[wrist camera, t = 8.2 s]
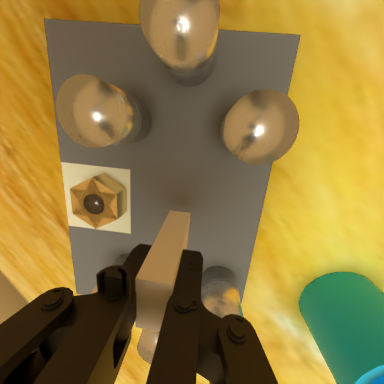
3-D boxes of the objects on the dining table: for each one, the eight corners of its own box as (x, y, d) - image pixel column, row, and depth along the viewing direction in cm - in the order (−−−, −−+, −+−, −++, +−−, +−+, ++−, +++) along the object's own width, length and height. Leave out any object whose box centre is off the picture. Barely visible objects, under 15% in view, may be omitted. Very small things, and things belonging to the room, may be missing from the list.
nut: (82, 170, 19) (67, 174, 17) (125, 175, 18) (115, 180, 16) (86, 217, 20) (73, 226, 18) (126, 222, 20) (117, 231, 18)
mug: (299, 273, 21) (352, 358, 13) (382, 269, 20) (496, 358, 12) (297, 351, 24) (340, 456, 16) (368, 351, 23) (450, 463, 15)
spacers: (104, 22, 15) (37, -48, 9) (286, 34, 14) (340, -36, 8) (115, 299, 23) (84, 353, 18) (229, 317, 22) (236, 379, 17)
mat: (50, 22, 16) (43, 18, 15) (296, 38, 14) (300, 34, 14) (79, 290, 24) (76, 293, 24) (237, 313, 23) (237, 318, 22)
